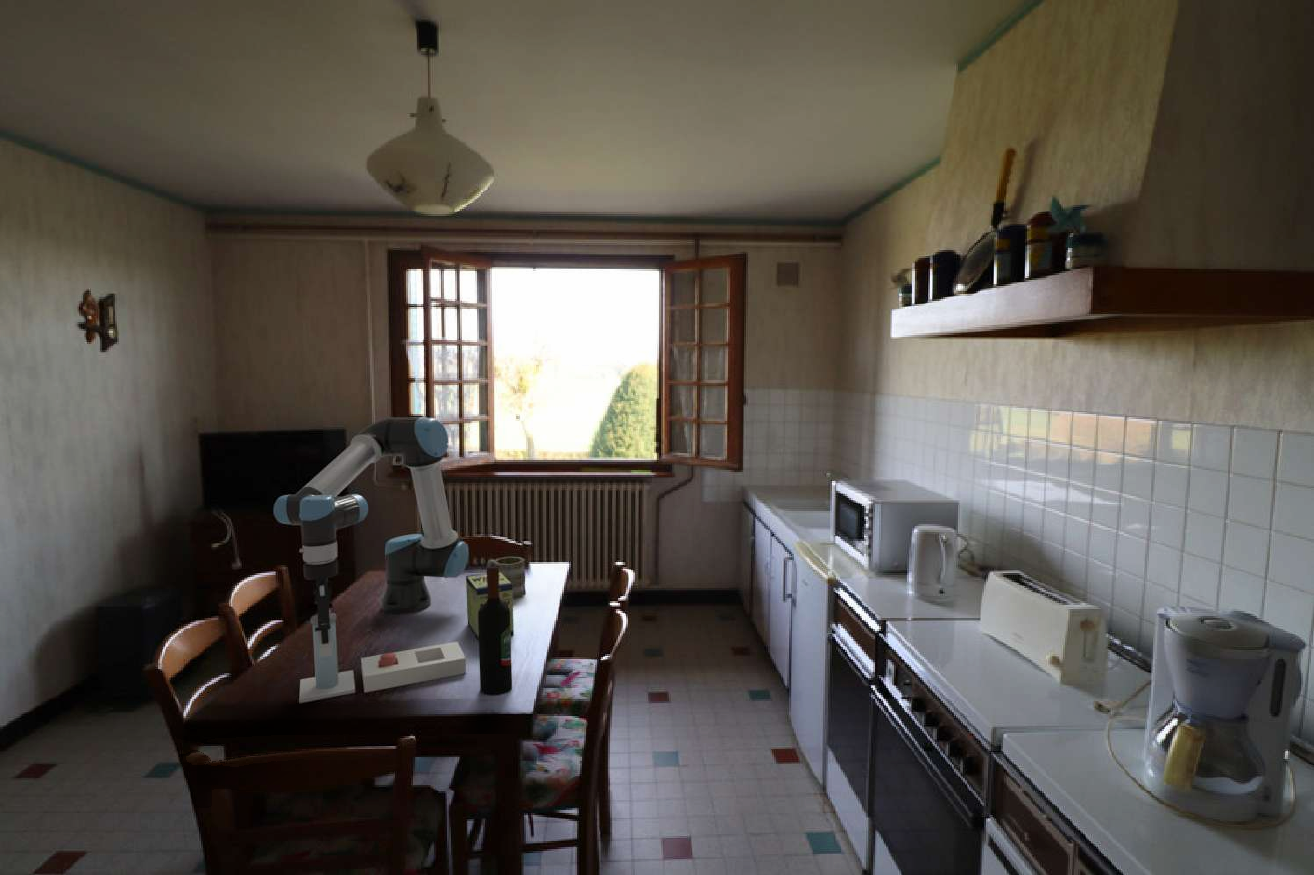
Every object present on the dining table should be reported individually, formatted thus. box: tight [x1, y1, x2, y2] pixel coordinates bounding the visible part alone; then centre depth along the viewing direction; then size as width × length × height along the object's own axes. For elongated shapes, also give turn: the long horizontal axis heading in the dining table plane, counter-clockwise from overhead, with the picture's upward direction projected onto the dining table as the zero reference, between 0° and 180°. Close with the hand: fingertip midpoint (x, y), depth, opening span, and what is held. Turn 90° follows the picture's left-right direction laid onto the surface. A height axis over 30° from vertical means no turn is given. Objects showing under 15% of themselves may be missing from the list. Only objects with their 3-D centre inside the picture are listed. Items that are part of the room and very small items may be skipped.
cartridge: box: [310, 612, 339, 689], centre depth 169 cm, size 6×6×17 cm
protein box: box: [465, 572, 515, 642], centre depth 206 cm, size 10×16×16 cm
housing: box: [360, 641, 467, 693], centre depth 177 cm, size 12×24×4 cm, turn 116°
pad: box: [298, 669, 356, 704], centre depth 169 cm, size 12×12×1 cm
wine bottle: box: [478, 565, 513, 696], centre depth 167 cm, size 8×8×30 cm
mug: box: [486, 556, 527, 600], centre depth 240 cm, size 16×11×12 cm
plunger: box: [380, 652, 396, 667], centre depth 174 cm, size 4×4×4 cm
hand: (325, 645), depth 169 cm, fingers open, 13 cm apart
